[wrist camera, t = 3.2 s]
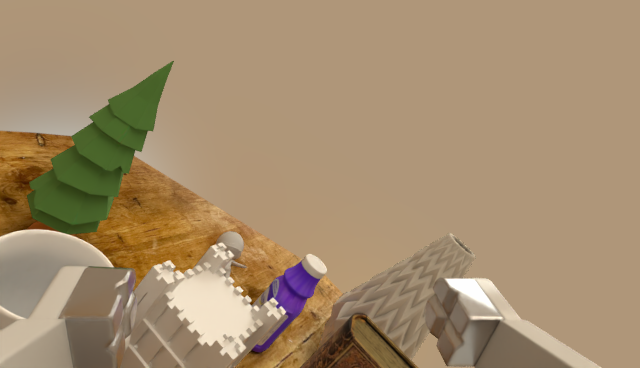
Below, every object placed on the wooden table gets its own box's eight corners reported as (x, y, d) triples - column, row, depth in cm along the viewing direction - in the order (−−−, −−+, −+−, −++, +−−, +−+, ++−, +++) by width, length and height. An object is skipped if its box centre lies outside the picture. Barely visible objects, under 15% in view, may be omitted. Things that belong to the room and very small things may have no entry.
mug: (108, 346, 46) (165, 271, 42) (76, 444, 36) (147, 358, 33) (-39, 303, 39) (15, 210, 35) (-125, 409, 29) (-62, 296, 26)
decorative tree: (98, 252, 55) (213, 86, 48) (36, 275, 46) (165, 75, 39) (54, 207, 56) (159, 37, 49) (-16, 221, 47) (99, 16, 40)
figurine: (203, 271, 64) (218, 219, 73) (192, 286, 67) (208, 235, 77) (247, 285, 67) (256, 234, 76) (235, 300, 70) (245, 249, 79)
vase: (366, 360, 80) (481, 251, 71) (372, 432, 64) (521, 303, 56) (303, 314, 78) (414, 196, 69) (293, 378, 62) (436, 235, 53)
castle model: (166, 310, 55) (222, 241, 52) (234, 392, 52) (299, 324, 49) (85, 352, 43) (150, 265, 39) (168, 461, 40) (247, 379, 36)
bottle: (237, 312, 65) (300, 241, 61) (264, 325, 67) (327, 257, 63) (234, 347, 59) (304, 270, 54) (265, 360, 61) (335, 287, 56)
